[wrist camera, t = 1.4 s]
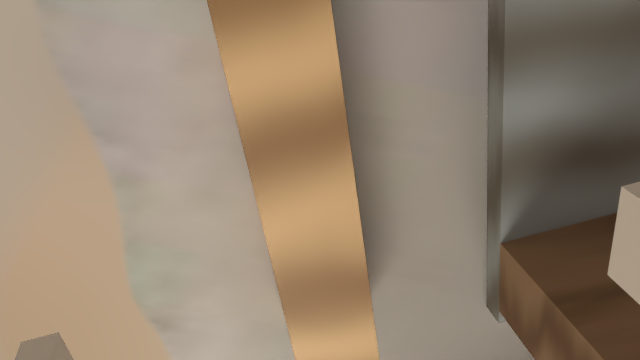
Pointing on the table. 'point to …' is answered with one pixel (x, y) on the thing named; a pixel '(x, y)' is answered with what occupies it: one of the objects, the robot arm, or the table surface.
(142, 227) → the table surface
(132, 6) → the table surface
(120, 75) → the table surface
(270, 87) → the bed rail
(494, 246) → the wooden u-shaped stand
